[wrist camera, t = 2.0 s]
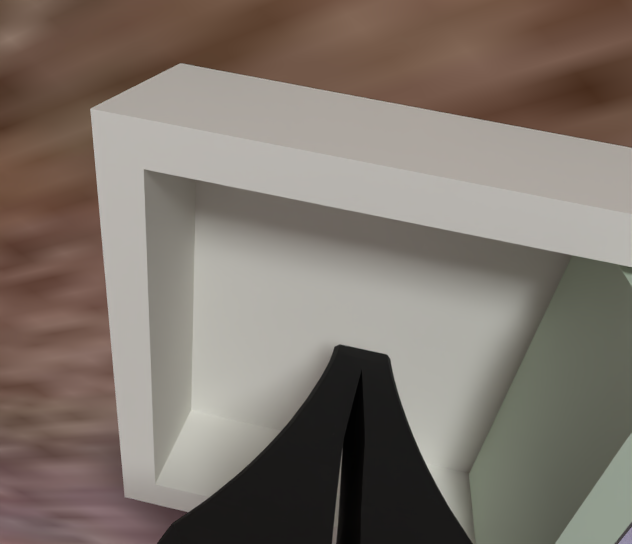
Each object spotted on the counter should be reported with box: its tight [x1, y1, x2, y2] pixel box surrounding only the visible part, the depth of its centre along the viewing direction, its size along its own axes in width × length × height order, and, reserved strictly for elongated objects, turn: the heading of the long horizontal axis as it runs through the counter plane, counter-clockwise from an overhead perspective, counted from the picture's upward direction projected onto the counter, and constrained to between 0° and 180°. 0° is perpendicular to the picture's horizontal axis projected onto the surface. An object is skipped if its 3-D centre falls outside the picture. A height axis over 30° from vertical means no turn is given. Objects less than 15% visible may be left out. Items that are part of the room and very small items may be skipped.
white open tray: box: [90, 63, 632, 544], centre depth 15 cm, size 12×12×4 cm
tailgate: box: [469, 255, 632, 544], centre depth 13 cm, size 2×9×5 cm, turn 171°
